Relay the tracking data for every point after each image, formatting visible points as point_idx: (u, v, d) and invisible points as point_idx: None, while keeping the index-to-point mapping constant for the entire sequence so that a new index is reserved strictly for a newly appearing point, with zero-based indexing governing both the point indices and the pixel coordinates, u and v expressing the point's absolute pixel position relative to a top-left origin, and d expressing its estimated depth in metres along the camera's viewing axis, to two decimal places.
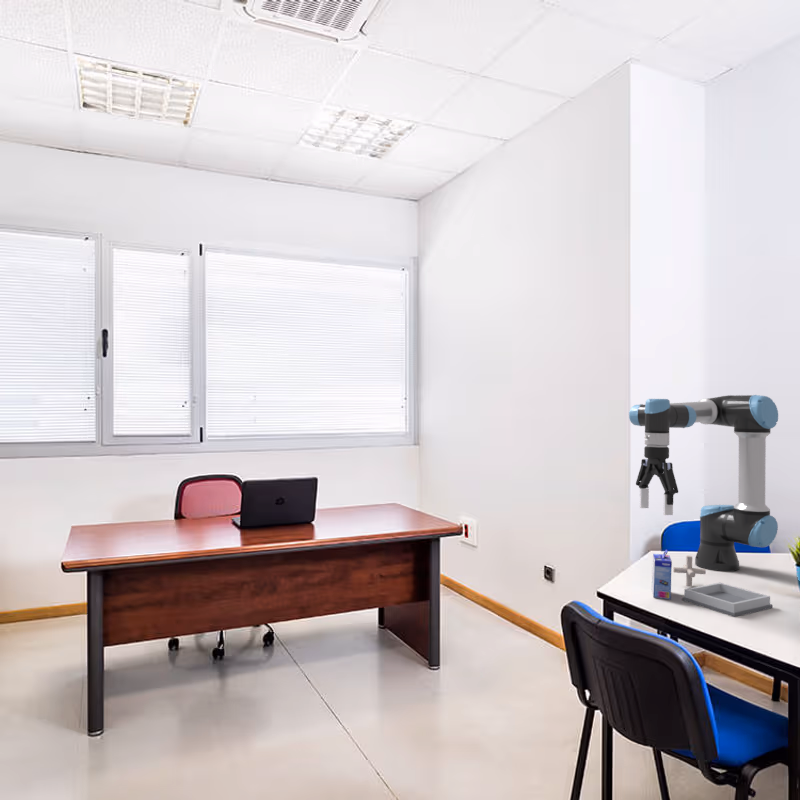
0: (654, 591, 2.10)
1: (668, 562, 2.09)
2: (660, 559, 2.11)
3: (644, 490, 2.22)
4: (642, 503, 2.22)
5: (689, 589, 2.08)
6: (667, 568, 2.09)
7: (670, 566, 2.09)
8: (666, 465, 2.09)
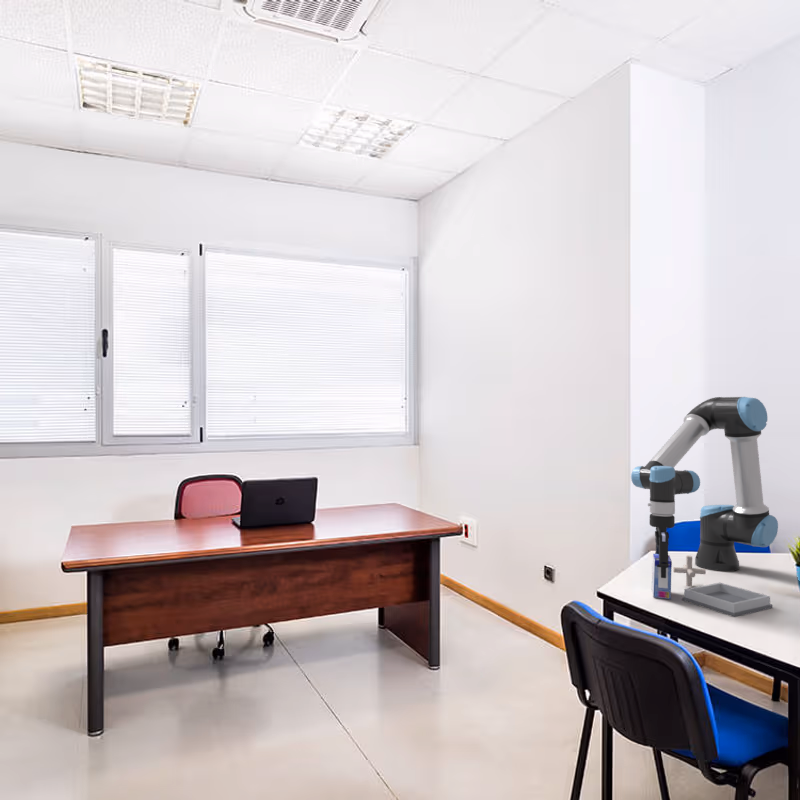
0: (654, 591, 2.10)
1: (668, 562, 2.09)
2: None
3: None
4: None
5: (689, 589, 2.08)
6: None
7: (670, 566, 2.09)
8: (660, 537, 2.08)
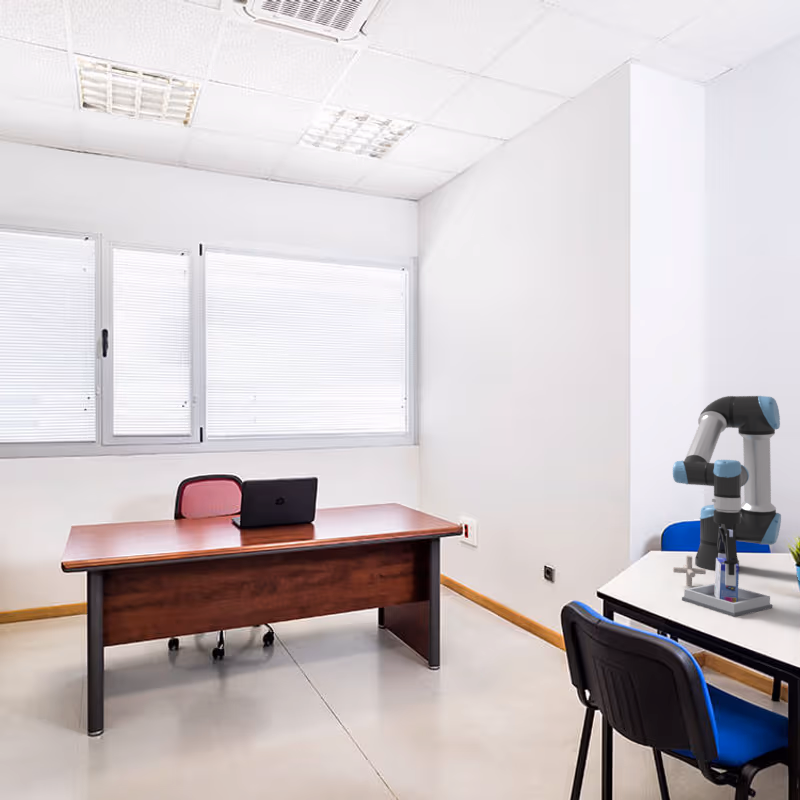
0: (720, 597, 2.01)
1: None
2: None
3: (722, 555, 2.11)
4: None
5: (689, 589, 2.08)
6: None
7: (737, 571, 2.00)
8: (727, 533, 1.98)
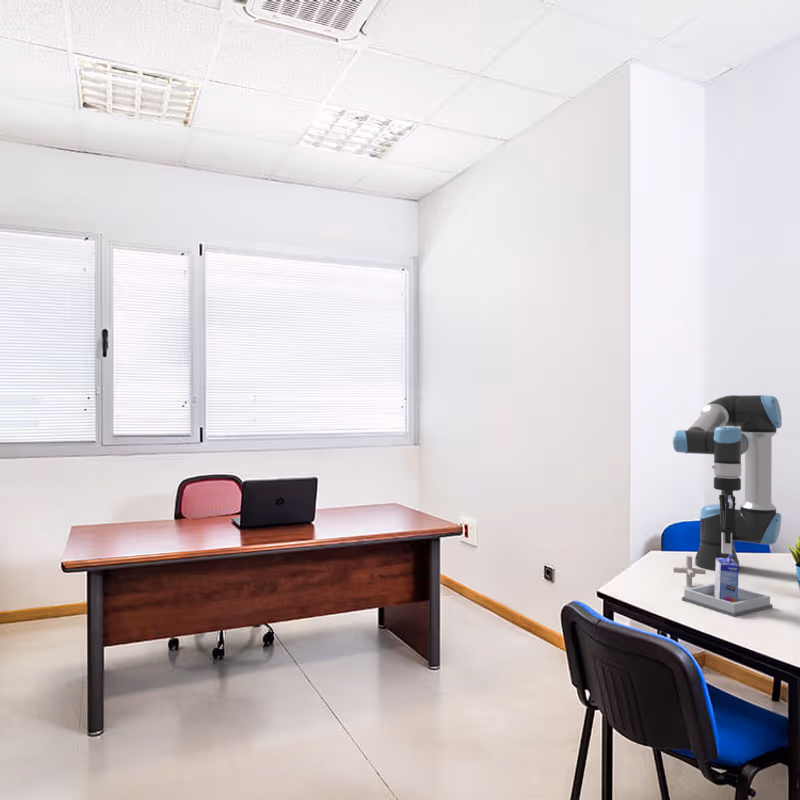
0: (720, 597, 2.01)
1: (735, 566, 2.00)
2: (726, 563, 2.02)
3: None
4: None
5: (689, 589, 2.08)
6: (734, 572, 2.00)
7: (737, 571, 2.00)
8: (727, 505, 1.99)
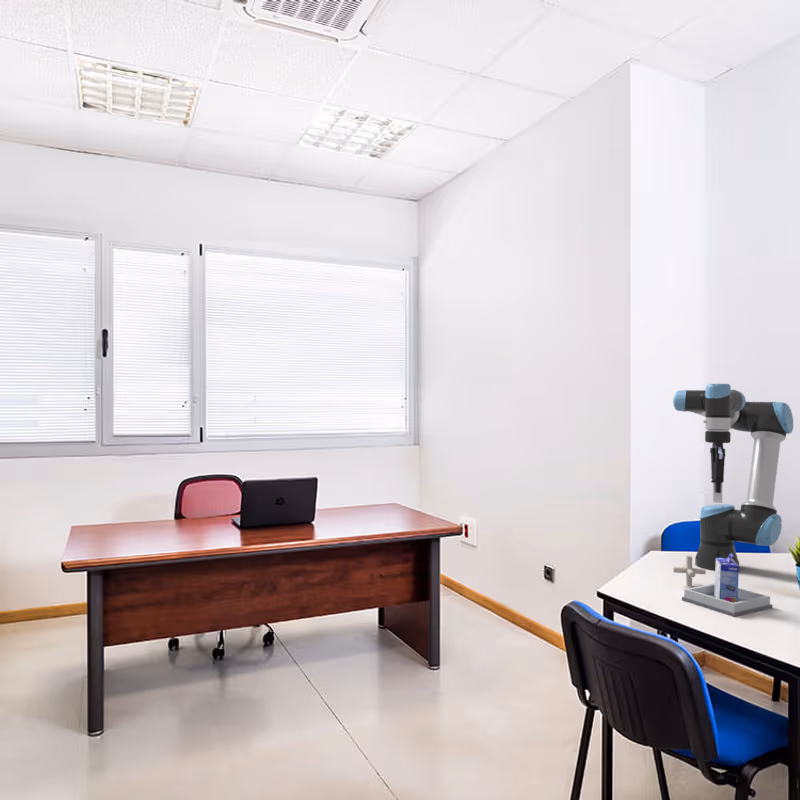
0: (720, 597, 2.01)
1: (735, 566, 2.00)
2: (726, 563, 2.02)
3: None
4: None
5: (689, 589, 2.08)
6: (734, 572, 2.00)
7: (737, 571, 2.00)
8: (717, 456, 2.12)
